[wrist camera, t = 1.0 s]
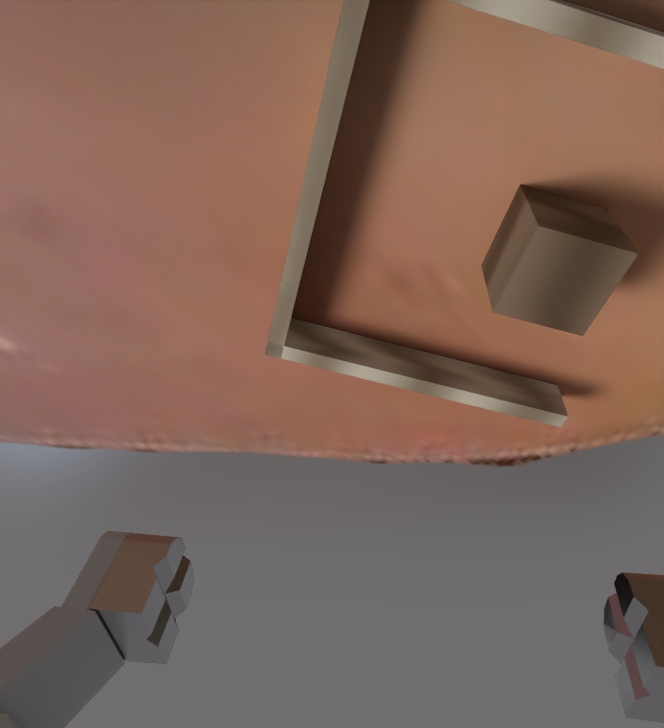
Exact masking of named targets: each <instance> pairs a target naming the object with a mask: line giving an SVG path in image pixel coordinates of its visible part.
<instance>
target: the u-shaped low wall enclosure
mask: <svg viewBox="0 0 664 728" xmlns="http://www.w3.org/2000/svg"><path fill="white" fill-rule="evenodd" d="M369 1H370V0H344V2H343V7H342V11H341V15H340V20H339V24H338V29H337V33H336V38H335V42H334V47H333V51H332V56H331V60H330V65H329V69H328V74H327V78H326V83H325V87H324V92H323V96H322V101H321V105H320V110H319V114H318V119H317V123H316V128H315V132H314V137H313V141H312V146H311V150H310V155H309V159H308V164H307V168H306V173H305V177H304V182H303V186H302V191H301V195H300V200H299V204H298V208H297V213H296V217H295V222H294V226H293V231H292V235H291V240H290V244H289V249H288V253H287V258H286V262H285V267H284V271H283V276H282V280H281V285H280V289H279V294H278V298H277V303H276V307H275V312H274V316H273V321H272V325H271V330H270V334H269V339H268V343H267V348H266V352H265V355H269V356H273V357H277V358H281V359H285V360H289V361H294V362H298V363H302V364H306V365H310V366H314V367H318V368H322V369H326V370H330V371H334V372H338V373H342V374H346V375H350V376H354V377H359V378H363V379H367V380H371V381H375V382H379V383H383V384H387V385H391V386H395V387H399V388H403V389H407V390H411V391H415V392H420V393H424V394H428V395H432V396H436V397H440V398H444V399H448V400H452V401H456V402H460V403H464V404H468V405H472V406H476V407H481V408H485V409H489V410H493V411H497V412H501V413H505V414H509V415H513V416H517V417H521V418H525V419H529V420H533V421H537V422H541V423H546V424H550V425H554V426H558V427H561V426H562V424H563V423H564V422H565V420H566V419H567V418H568V414H567V411H566V408H565V405H564V402H563V400H562V397H561V394H560V391H559V388H558V385H555V384H551V383H547V382H543V381H539V380H535V379H531V378H527V377H523V376H519V375H515V374H511V373H507V372H503V371H499V370H495V369H491V368H487V367H483V366H479V365H476V364H472V363H468V362H464V361H460V360H456V359H452V358H448V357H444V356H440V355H436V354H432V353H428V352H424V351H420V350H416V349H412V348H408V347H404V346H400V345H397V344H393V343H389V342H385V341H381V340H377V339H373V338H369V337H365V336H361V335H357V334H353V333H349V332H345V331H341V330H337V329H333V328H329V327H325V326H321V325H318V324H314V323H310V322H306V321H302V320H298V319H294V318H291V316H292V312H293V307H294V303H295V299H296V295H297V291H298V287H299V283H300V279H301V275H302V271H303V267H304V263H305V259H306V255H307V251H308V247H309V243H310V239H311V235H312V231H313V227H314V223H315V219H316V215H317V211H318V207H319V203H320V199H321V195H322V191H323V187H324V183H325V179H326V175H327V171H328V166H329V162H330V158H331V154H332V150H333V146H334V142H335V138H336V134H337V130H338V126H339V122H340V118H341V114H342V110H343V106H344V102H345V98H346V94H347V90H348V86H349V82H350V78H351V74H352V70H353V66H354V62H355V58H356V54H357V50H358V46H359V42H360V38H361V34H362V29H363V25H364V21H365V17H366V13H367V9H368V5H369ZM446 1H450V2H453V3H456V4H459V5H462V6H465V7H469V8H472V9H475V10H478V11H481V12H485V13H488V14H491V15H494V16H497V17H500V18H504V19H507V20H510V21H513V22H516V23H520V24H523V25H526V26H529V27H532V28H535V29H539V30H542V31H545V32H548V33H551V34H555V35H558V36H561V37H564V38H567V39H570V40H574V41H577V42H580V43H583V44H586V45H590V46H593V47H596V48H599V49H602V50H605V51H609V52H612V53H615V54H618V55H621V56H625V57H628V58H631V59H634V60H637V61H640V62H644V63H647V64H650V65H653V66H656V67H660V68H663V69H664V32H661V31H658V30H655V29H652V28H648V27H645V26H642V25H639V24H636V23H633V22H630V21H627V20H624V19H620V18H617V17H614V16H611V15H608V14H605V13H602V12H599V11H595V10H592V9H589V8H586V7H583V6H580V5H577V4H574V3H571V2H567V1H564V0H446Z"/></svg>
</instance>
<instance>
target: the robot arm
mask: <svg viewBox="0 0 664 728" xmlns="http://www.w3.org/2000/svg"><path fill="white" fill-rule="evenodd" d="M185 548H186V547H185V544H184V542H183V540H182V538H181V537H171V536H160V535H148V534H135V533H129V532H116V531H107V532H106V533H104V534H103V535H102V536H101V537H100V538H99V540H98V542H97V543H96V545H95V547H94V549H93V551H92V553H91V554H90V556H89V558H88V560H87V562H86V563H85V565H84V567H83V569H82V571H81V572H80V574H79V576H78V578H77V580H76V581H75V583H74V585H73V587H72V589H71V590H70V592H69V594H68V596H67V598H66V599H65V601H64V603H63V605H62V607H56V606H54V607H53V608H52V609H50V610H49V611H48V612H46V613H45V614H44V615H43V616H41V617H40V618H39V619H37V620H36V621H35V622H33V623H32V624H31V625H30V626H28V627H27V628H26V629H25V630H23V631H22V632H21V633H20V634H18V635H17V636H15V637H14V638H13V639H12V640H10V641H9V642H7V643H6V644H5V645H4V646H2V647H1V648H0V728H64V727H65V726H66V725H67V724H68V723H69V722H70V721H71V720H72V719H73V718H74V717H75V716H76V714H78V712H79V711H80V710H81V709H82V708H83V707H84V706H85V705H86V704H87V703H88V702H89V701H90V700H91V699H92V698H93V697H94V696H95V694H96V693H97V692H98V691H99V690H100V689H101V688H102V687H103V686H104V685H105V684H106V683H107V682H108V681H109V680H110V679H111V678H112V677H113V675H114V674H115V673H116V672H117V671H118V670H119V669H120V668H121V667H122V666H123V665H124V664H125V662H124V661H135V662H146V663H158V664H167V661H168V658H169V656H170V653H171V650H172V647H173V645H174V642H175V639H176V637H177V634H178V631H179V630H178V626H177V623H176V619H175V618H176V617H178V616H179V615H180V614H181V613H182V612H183V611H184V610H185V609H187V606H188V603H189V600H190V597H191V594H192V588H193V582H194V573H193V566H192V564H191V561H190V560H189V559H187V558H186V557H185V556H184V555H183V553H184V551H185ZM614 586H615V589H616V593H615V594H614V595H612V596H610V597H608V599H607V602H606V605H605V607H604V630H605V637H606V641H607V645H608V650H609V651H610V653H611V654H612V655H613V656H614V657H615V658H616V659H617V660H618V661H619V662H620V664H621V666H620V668H619V670H618V672H617V674H616V676H615V677H616V681H617V685H618V689H619V692H620V697H621V700H622V704H623V708H624V712H625V715H626V718H633V719H640V720H648V721H655V722H661V723H664V575H654V574H637V573H620V574H618V575H617V577H616V580H615V582H614Z"/></svg>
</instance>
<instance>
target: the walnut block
mask: <svg viewBox="0 0 664 728" xmlns="http://www.w3.org/2000/svg"><path fill="white" fill-rule="evenodd" d="M637 255H638V252H637V251H636V249H635V248H634V246H633V245H632V244H631V242H630V241H629V239H628V238H627V236H626V235H625V234H624V232H623V231H622V229H621V228H620V226H619V225H618V224H617V222H616V221H615V219H614V218H613V216H612V215H611V213H610V212H609V211H608V209H604V208H601V207H597V206H593V205H590V204H586V203H583V202H579V201H576V200H572V199H569V198H565V197H562V196H558V195H555V194H551V193H548V192H544V191H541V190H537V189H534V188H530V187H527V186H523V185H520V186H519V188H518V190H517V192H516V194H515V196H514V198H513V201H512V203H511V205H510V207H509V209H508V211H507V213H506V215H505V217H504V219H503V221H502V223H501V225H500V228H499V230H498V232H497V234H496V236H495V238H494V240H493V242H492V244H491V246H490V248H489V250H488V252H487V255H486V257H485V259H484V261H483V263H482V269H483V274H484V278H485V282H486V286H487V290H488V294H489V298H490V302H491V307H492V311H493V313H497V314H501V315H504V316H508V317H512V318H516V319H520V320H524V321H527V322H531V323H535V324H539V325H543V326H547V327H550V328H554V329H558V330H562V331H566V332H569V333H573V334H577V335H581V336H583V335H584V334H585V332H586V331H587V329H588V328H589V326H590V325H591V323H592V322H593V320H594V319H595V317H596V316H597V314H598V313H599V311H600V310H601V309H602V307H603V306H604V304H605V303H606V301H607V300H608V298H609V297H610V295H611V294H612V292H613V291H614V289H615V288H616V286H617V285H618V283H619V282H620V280H621V279H622V278H623V276H624V275H625V273H626V272H627V270H628V269H629V267H630V266H631V264H632V263H633V261H634V260H635V258H636V257H637Z"/></svg>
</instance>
